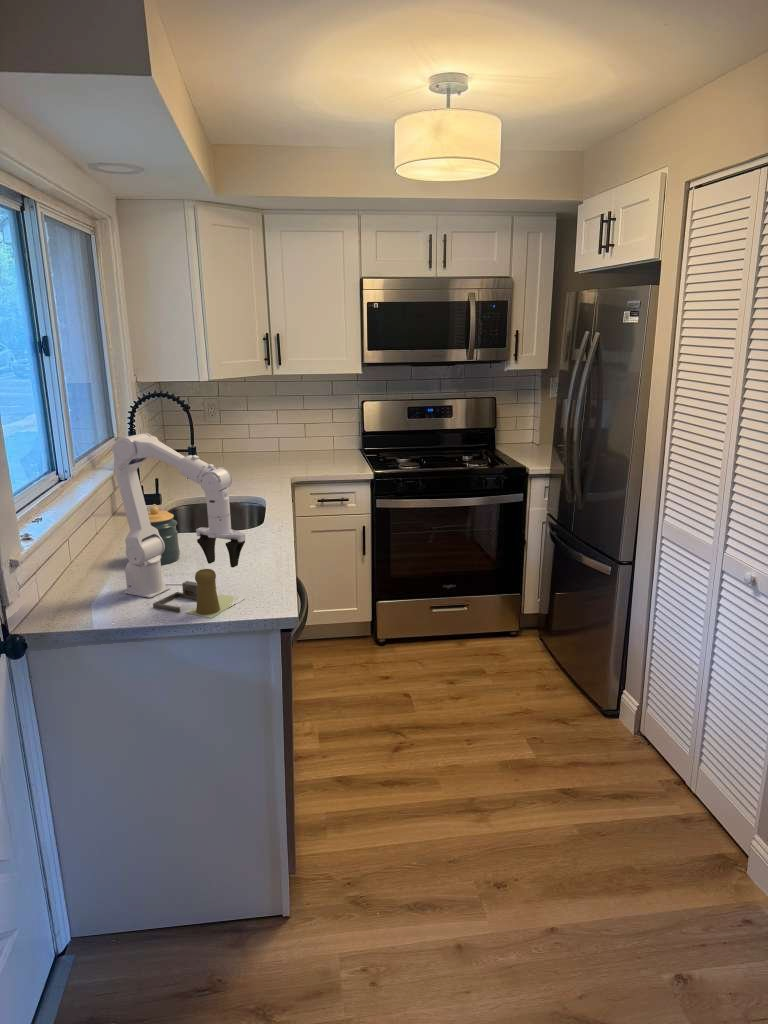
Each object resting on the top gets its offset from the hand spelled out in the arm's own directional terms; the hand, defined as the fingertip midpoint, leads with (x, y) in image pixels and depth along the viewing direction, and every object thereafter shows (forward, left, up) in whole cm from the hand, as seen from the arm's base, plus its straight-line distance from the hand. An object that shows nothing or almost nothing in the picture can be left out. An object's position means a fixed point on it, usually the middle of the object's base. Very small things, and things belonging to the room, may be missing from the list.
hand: (222, 564), depth 180 cm
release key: (-10, +2, -10) cm, 15 cm away
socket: (-10, -4, -10) cm, 15 cm away
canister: (-42, +20, -11) cm, 48 cm away
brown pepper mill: (0, -7, -10) cm, 13 cm away
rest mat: (0, -4, -10) cm, 11 cm away
